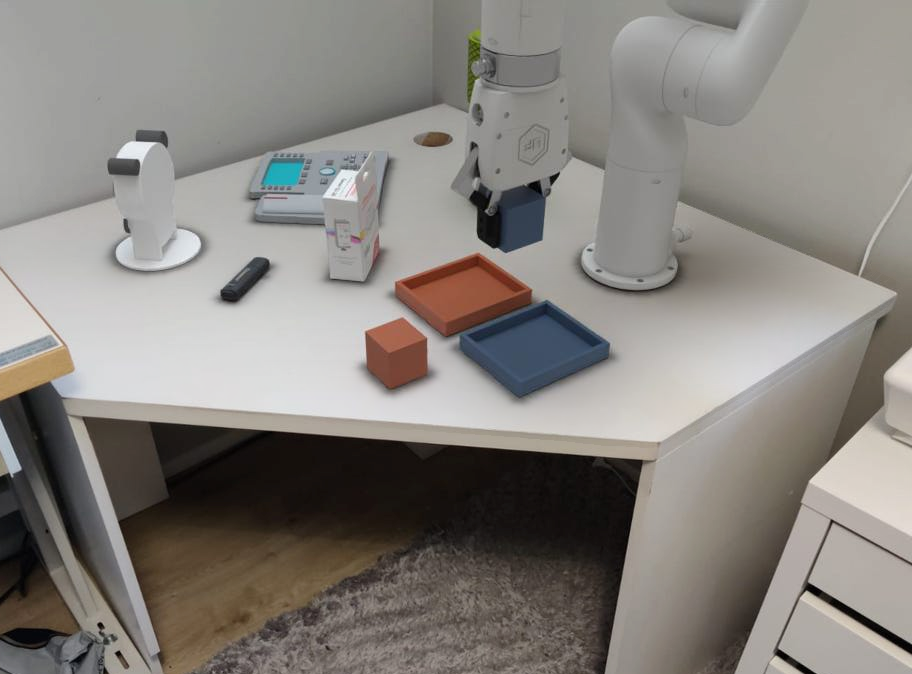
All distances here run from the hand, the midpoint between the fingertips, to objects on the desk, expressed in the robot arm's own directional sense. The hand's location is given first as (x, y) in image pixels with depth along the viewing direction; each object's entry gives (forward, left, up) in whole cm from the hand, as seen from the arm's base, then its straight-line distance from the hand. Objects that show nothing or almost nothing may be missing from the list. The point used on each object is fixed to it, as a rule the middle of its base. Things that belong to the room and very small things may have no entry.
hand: (509, 233), depth 95 cm
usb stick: (+19, -30, -15) cm, 39 cm away
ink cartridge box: (+5, -26, -15) cm, 31 cm away
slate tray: (-2, +3, -15) cm, 15 cm away
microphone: (-21, -30, -15) cm, 40 cm away
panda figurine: (+25, -45, -15) cm, 54 cm away
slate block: (0, 0, 0) cm, 0 cm away
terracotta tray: (-2, -11, -15) cm, 19 cm away
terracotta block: (+13, -3, -15) cm, 20 cm away
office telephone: (-2, -49, -15) cm, 52 cm away
